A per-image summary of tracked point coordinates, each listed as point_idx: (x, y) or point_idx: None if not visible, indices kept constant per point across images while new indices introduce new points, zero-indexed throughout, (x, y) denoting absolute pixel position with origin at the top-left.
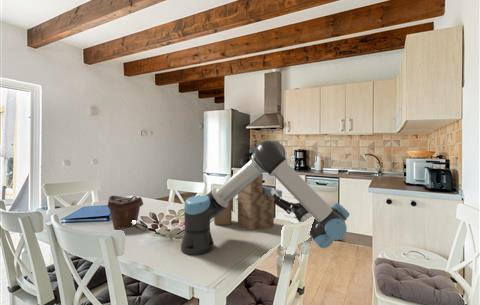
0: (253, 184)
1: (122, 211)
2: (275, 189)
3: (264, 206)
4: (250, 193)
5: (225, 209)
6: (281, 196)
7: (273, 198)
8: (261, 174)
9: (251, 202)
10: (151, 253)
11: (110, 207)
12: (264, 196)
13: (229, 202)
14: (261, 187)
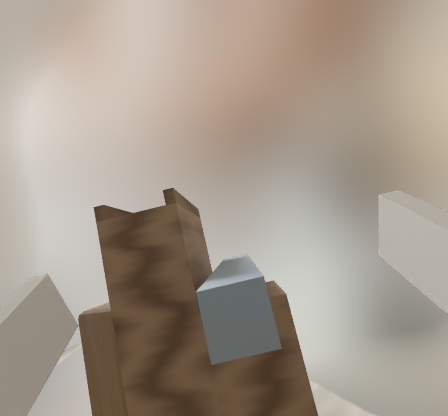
0: (122, 260)
1: None
2: (244, 269)
3: (232, 394)
4: (112, 318)
5: (111, 385)
6: (273, 343)
7: (291, 328)
8: (165, 192)
9: (128, 377)
10: None
11: None
12: None
13: (117, 354)
14: (182, 269)
